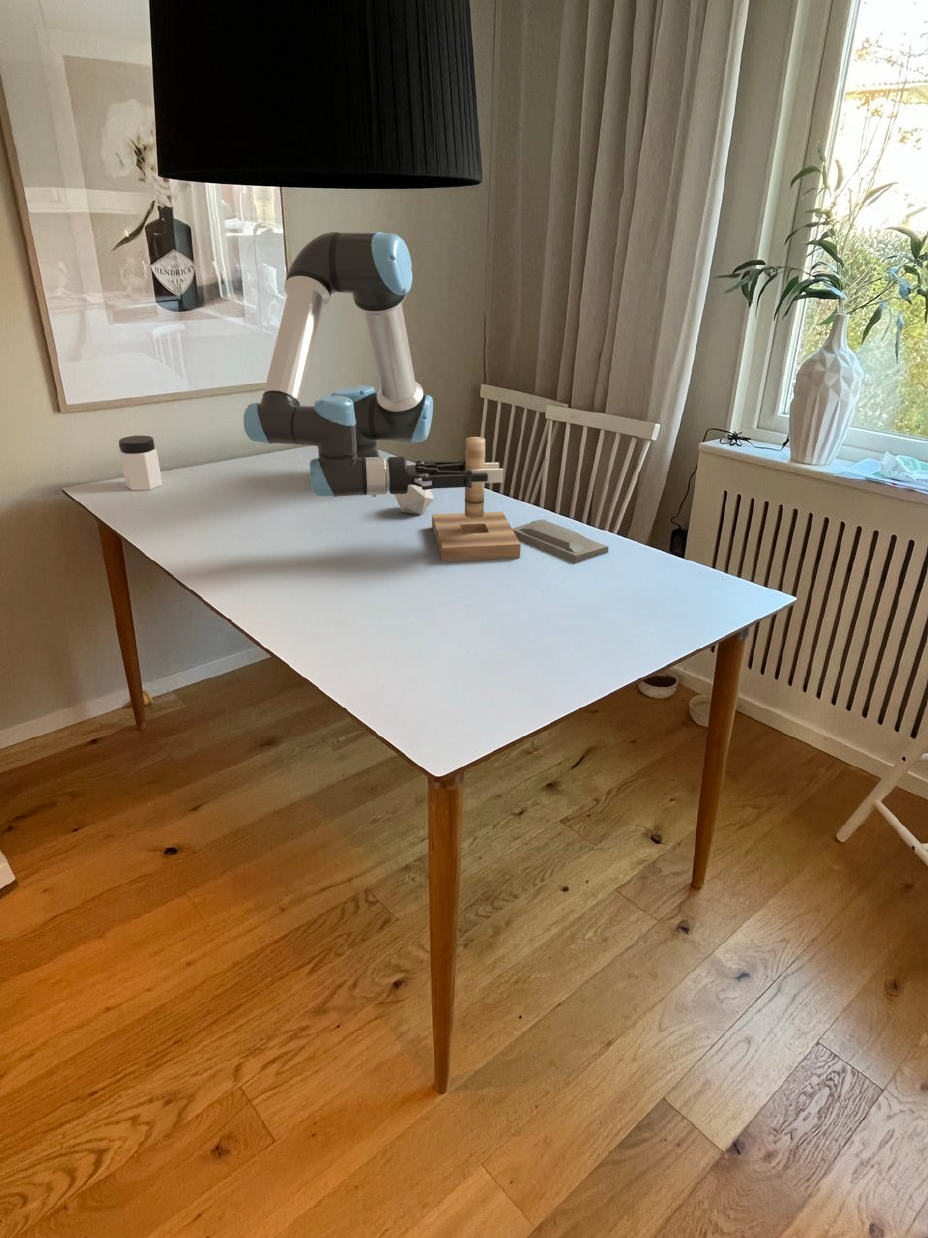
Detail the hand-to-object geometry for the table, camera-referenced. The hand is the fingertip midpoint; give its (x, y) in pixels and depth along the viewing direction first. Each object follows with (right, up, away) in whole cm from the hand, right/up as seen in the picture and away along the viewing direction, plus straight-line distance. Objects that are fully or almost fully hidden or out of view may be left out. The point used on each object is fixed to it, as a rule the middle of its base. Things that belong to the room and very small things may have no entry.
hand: (500, 472), depth 165 cm
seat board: (-5, -14, +6) cm, 16 cm away
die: (-19, -5, +24) cm, 31 cm away
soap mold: (+12, -15, +6) cm, 20 cm away
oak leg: (-5, -8, +3) cm, 10 cm away
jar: (-90, +4, +39) cm, 98 cm away
